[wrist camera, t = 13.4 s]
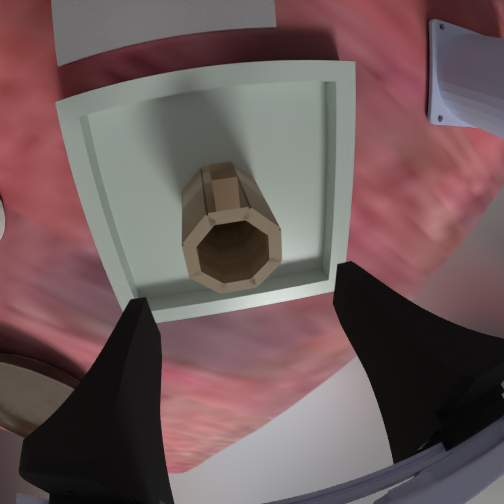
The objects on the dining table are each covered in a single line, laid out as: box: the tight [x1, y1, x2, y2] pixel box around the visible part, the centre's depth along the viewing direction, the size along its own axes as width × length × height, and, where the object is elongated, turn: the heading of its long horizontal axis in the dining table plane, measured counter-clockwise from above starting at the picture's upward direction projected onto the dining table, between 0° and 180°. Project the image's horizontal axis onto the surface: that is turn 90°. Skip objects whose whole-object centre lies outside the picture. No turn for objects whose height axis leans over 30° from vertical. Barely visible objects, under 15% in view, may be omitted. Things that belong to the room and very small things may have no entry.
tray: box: [55, 60, 356, 323], centre depth 19 cm, size 16×16×2 cm
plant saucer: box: [0, 353, 80, 438], centre depth 27 cm, size 21×21×3 cm
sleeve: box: [182, 162, 282, 294], centre depth 17 cm, size 4×6×6 cm
